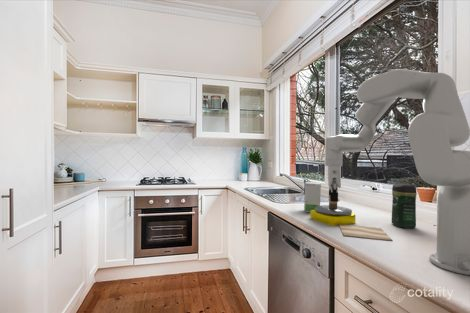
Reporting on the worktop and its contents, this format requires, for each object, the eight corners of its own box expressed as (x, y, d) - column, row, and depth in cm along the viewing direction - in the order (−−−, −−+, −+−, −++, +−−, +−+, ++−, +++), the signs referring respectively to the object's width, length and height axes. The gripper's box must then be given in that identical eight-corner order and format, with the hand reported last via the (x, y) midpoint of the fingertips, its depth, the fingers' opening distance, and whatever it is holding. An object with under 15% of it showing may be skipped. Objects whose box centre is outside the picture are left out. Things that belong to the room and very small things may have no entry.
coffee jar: (419, 229, 105) (420, 185, 105) (398, 228, 106) (399, 184, 106) (407, 223, 114) (408, 182, 115) (388, 222, 116) (389, 182, 116)
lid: (354, 216, 108) (355, 199, 108) (315, 213, 112) (315, 197, 112) (349, 209, 123) (349, 194, 123) (314, 206, 128) (314, 192, 128)
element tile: (308, 218, 122) (308, 209, 122) (332, 216, 128) (332, 207, 128) (331, 227, 108) (332, 215, 108) (357, 224, 114) (357, 213, 114)
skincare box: (303, 212, 135) (304, 182, 135) (304, 209, 141) (304, 181, 141) (320, 213, 132) (321, 183, 132) (320, 211, 139) (320, 182, 139)
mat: (392, 241, 90) (392, 239, 90) (343, 236, 94) (343, 235, 94) (380, 228, 105) (380, 228, 105) (339, 225, 110) (339, 224, 110)
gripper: (344, 163, 108) (344, 203, 108) (340, 162, 125) (339, 197, 125) (326, 163, 111) (325, 202, 110) (324, 162, 127) (323, 196, 127)
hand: (333, 199), depth 118 cm, fingers open, 9 cm apart
